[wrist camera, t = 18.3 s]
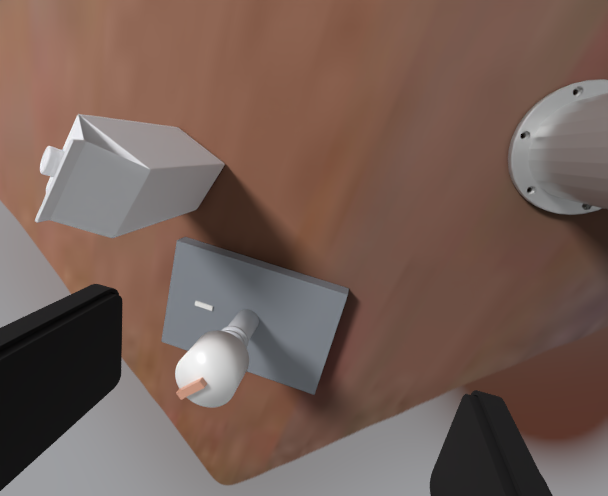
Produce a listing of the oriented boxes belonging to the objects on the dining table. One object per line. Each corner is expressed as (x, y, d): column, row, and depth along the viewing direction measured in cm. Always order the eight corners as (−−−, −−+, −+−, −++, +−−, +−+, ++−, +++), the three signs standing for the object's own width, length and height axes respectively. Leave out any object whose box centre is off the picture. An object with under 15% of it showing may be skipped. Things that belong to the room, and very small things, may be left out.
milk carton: (226, 163, 41) (115, 172, 23) (197, 210, 43) (74, 251, 25) (178, 126, 41) (28, 106, 23) (151, 175, 43) (-5, 191, 25)
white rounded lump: (227, 321, 35) (207, 345, 30) (260, 367, 35) (245, 397, 31) (184, 345, 36) (159, 371, 32) (216, 388, 37) (197, 420, 33)
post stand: (348, 288, 42) (343, 327, 33) (316, 385, 47) (303, 444, 37) (185, 236, 44) (135, 259, 35) (169, 334, 49) (121, 377, 39)
